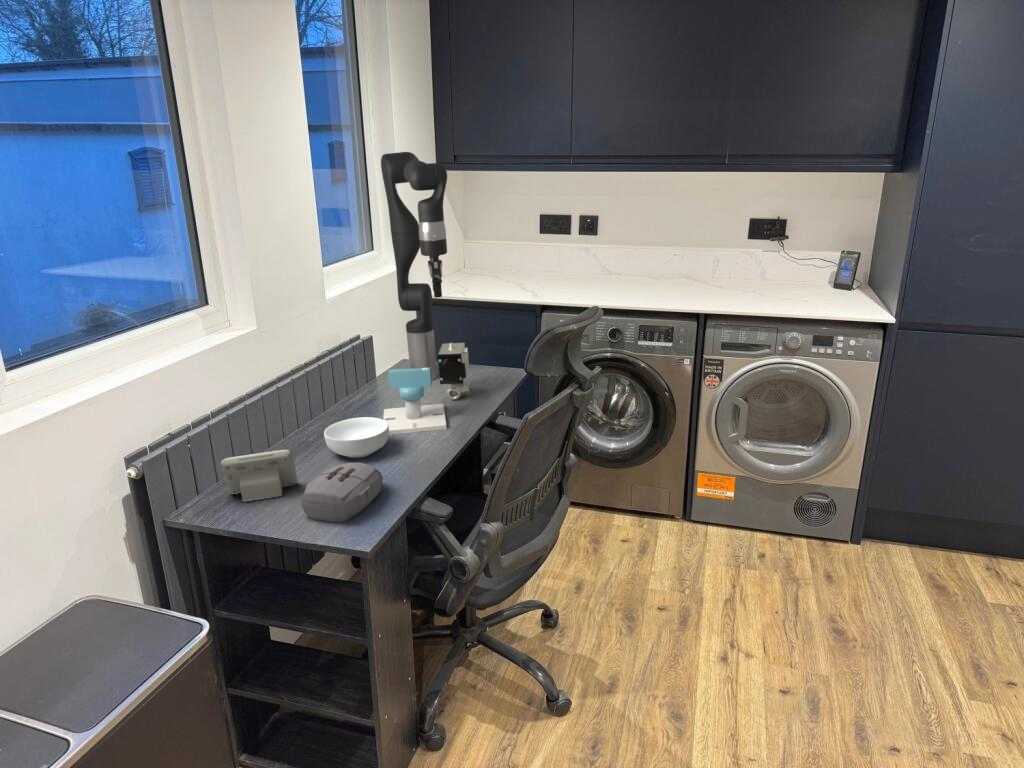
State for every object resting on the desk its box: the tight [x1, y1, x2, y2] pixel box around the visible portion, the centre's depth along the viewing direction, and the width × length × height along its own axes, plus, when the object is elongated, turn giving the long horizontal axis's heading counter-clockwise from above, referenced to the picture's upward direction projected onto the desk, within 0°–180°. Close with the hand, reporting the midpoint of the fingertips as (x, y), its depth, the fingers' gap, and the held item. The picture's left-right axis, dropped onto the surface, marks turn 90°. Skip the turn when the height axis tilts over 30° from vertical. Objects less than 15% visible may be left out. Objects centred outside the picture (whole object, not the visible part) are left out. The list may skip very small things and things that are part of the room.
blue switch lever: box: [387, 368, 433, 401], centre depth 207 cm, size 12×7×8 cm, turn 90°
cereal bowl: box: [323, 416, 390, 459], centre depth 190 cm, size 17×17×7 cm
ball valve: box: [437, 341, 471, 401], centre depth 227 cm, size 18×8×18 cm, turn 179°
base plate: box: [382, 398, 448, 436], centre depth 210 cm, size 18×18×8 cm
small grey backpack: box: [301, 462, 384, 523], centre depth 164 cm, size 15×8×20 cm
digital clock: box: [220, 449, 298, 501], centre depth 169 cm, size 16×9×11 cm, turn 94°
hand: (437, 294), depth 206 cm, fingers open, 8 cm apart
